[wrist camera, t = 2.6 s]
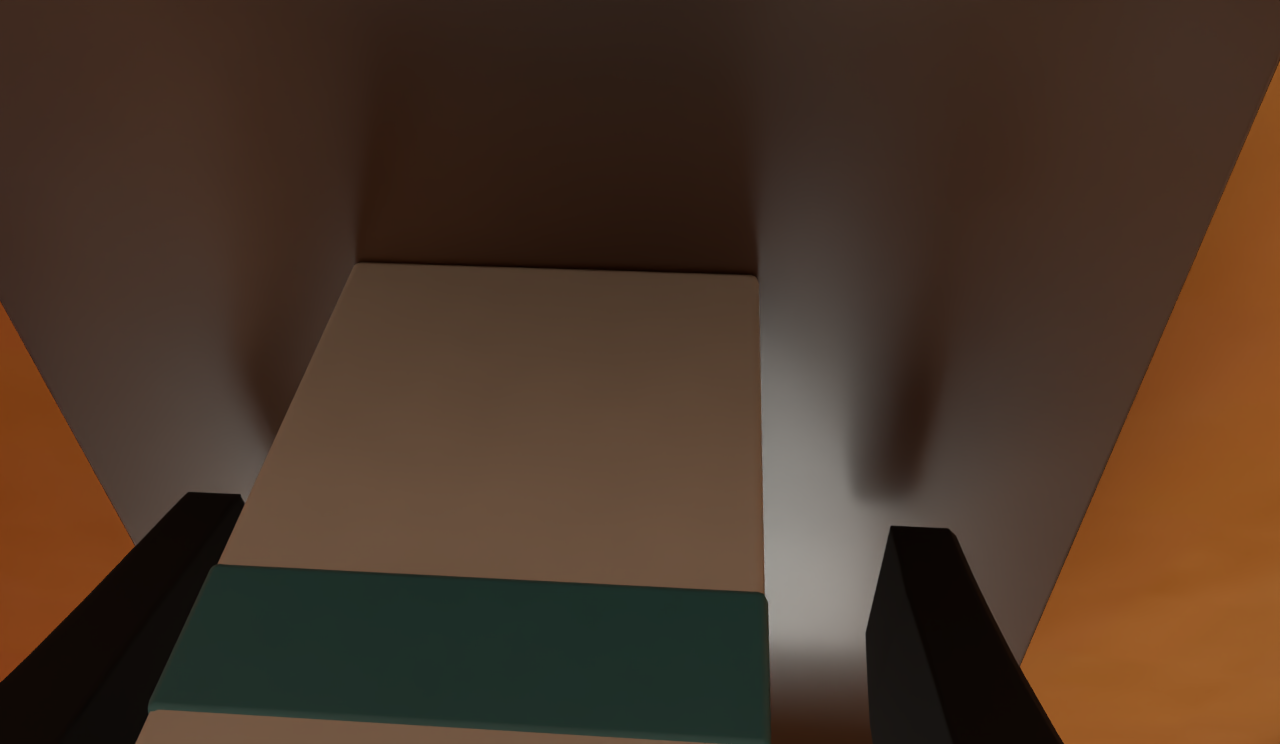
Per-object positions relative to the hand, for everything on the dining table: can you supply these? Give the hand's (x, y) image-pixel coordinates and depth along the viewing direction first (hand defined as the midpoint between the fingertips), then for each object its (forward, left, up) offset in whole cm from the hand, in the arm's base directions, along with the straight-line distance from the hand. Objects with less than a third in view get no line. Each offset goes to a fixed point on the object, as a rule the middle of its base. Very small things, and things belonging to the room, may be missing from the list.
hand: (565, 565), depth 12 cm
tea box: (0, 0, -1) cm, 1 cm away
